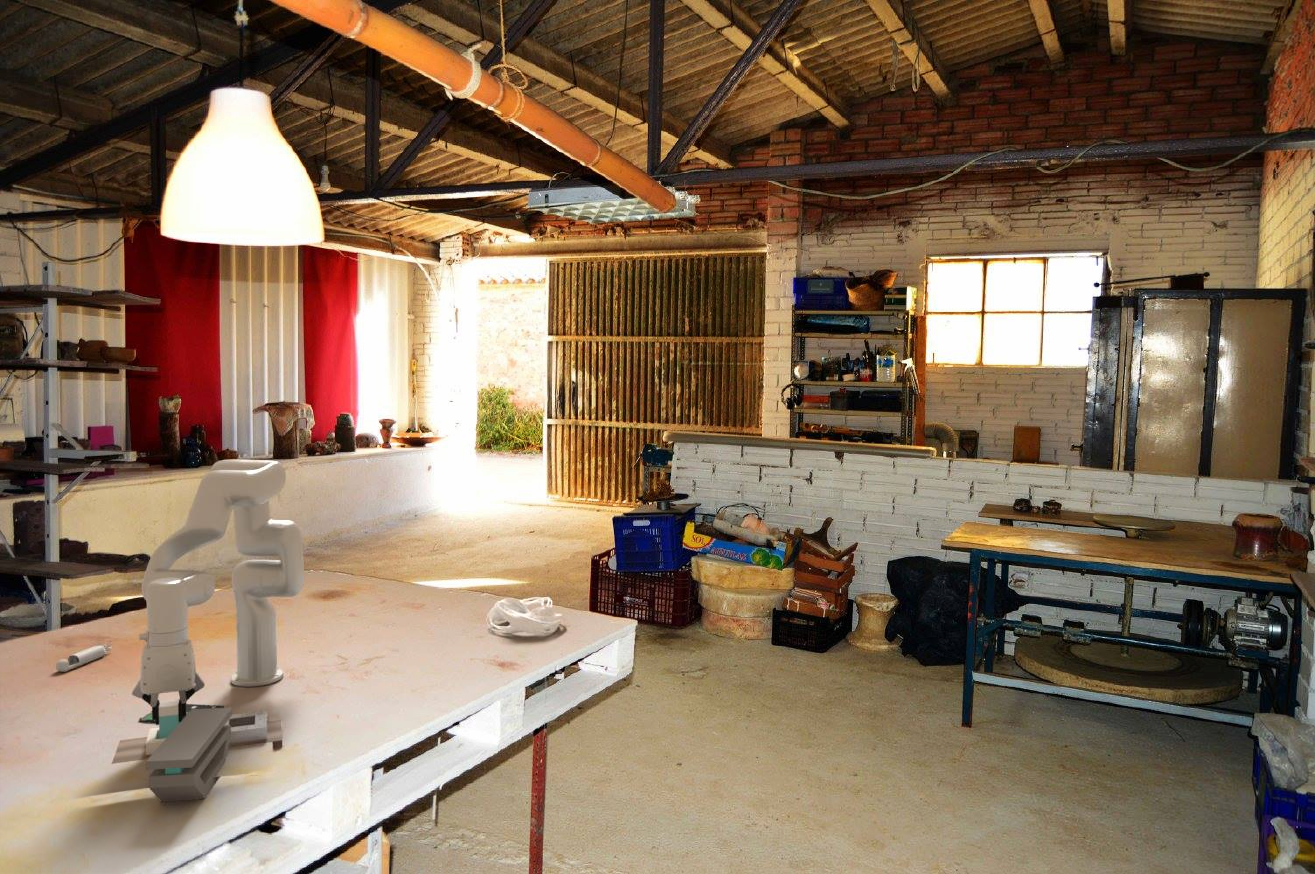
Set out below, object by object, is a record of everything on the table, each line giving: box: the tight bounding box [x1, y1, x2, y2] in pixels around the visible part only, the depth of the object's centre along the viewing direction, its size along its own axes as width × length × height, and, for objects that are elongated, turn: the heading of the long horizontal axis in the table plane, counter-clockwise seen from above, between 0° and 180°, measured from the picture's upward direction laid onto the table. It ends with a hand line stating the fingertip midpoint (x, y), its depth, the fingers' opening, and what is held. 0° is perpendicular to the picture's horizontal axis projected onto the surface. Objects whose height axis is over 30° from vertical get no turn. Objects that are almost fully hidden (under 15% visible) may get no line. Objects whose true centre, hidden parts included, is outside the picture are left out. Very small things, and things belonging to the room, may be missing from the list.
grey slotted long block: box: [145, 707, 233, 802], centre depth 177 cm, size 25×8×11 cm, turn 10°
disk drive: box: [137, 703, 225, 724], centre depth 209 cm, size 10×3×15 cm
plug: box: [158, 698, 180, 739], centre depth 193 cm, size 4×4×9 cm
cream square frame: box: [146, 727, 166, 755], centre depth 193 cm, size 8×8×2 cm
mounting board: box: [111, 719, 283, 764], centre depth 195 cm, size 12×32×2 cm, turn 114°
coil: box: [485, 596, 564, 637], centre depth 288 cm, size 25×24×9 cm
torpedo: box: [55, 633, 113, 673], centre depth 247 cm, size 18×5×7 cm, turn 171°
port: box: [225, 710, 268, 745], centre depth 198 cm, size 10×10×3 cm
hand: (169, 720), depth 192 cm, fingers closed on plug, 3 cm apart
